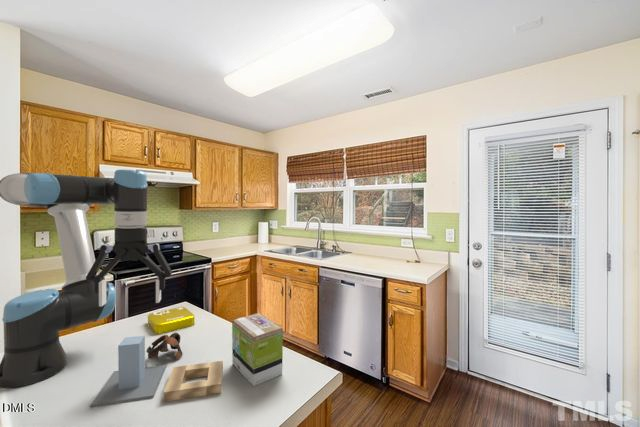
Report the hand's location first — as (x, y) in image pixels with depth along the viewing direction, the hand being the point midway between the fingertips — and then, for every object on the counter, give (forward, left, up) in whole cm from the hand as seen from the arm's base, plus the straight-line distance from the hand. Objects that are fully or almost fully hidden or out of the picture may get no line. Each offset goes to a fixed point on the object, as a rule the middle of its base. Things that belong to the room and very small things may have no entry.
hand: (131, 303), depth 82 cm
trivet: (0, 0, -23) cm, 23 cm away
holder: (+17, -4, -23) cm, 29 cm away
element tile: (+2, +42, -24) cm, 48 cm away
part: (0, 0, -23) cm, 23 cm away
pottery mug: (+6, +14, -23) cm, 28 cm away
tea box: (+34, -1, -23) cm, 41 cm away
